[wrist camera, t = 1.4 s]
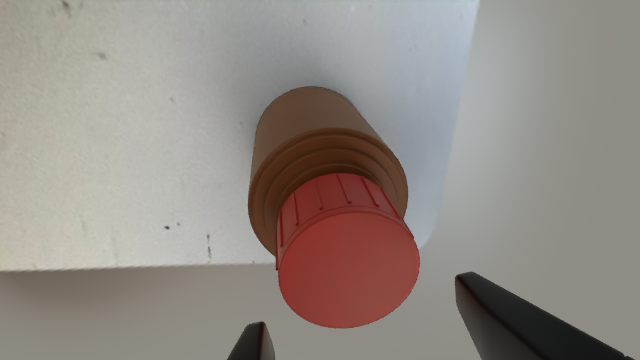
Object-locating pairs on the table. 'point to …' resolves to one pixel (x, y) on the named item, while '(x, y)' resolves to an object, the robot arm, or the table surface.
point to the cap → (343, 252)
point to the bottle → (314, 154)
